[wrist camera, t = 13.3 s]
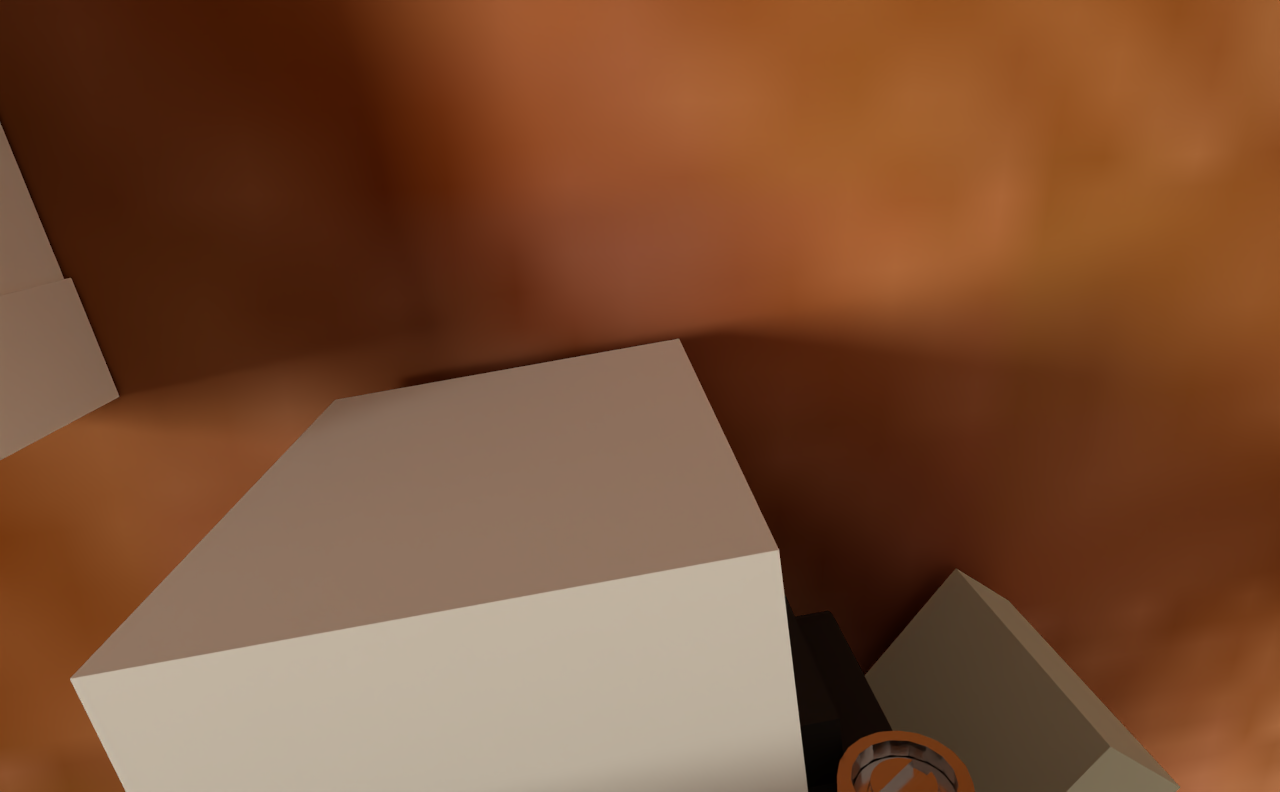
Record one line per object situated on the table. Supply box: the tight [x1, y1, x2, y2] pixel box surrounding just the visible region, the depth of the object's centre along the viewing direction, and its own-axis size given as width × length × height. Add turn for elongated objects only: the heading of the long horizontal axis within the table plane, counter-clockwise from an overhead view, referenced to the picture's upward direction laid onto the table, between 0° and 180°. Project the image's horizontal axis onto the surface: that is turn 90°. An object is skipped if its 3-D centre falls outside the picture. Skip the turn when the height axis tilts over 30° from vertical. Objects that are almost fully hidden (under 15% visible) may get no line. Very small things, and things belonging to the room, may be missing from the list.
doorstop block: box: [70, 339, 808, 792], centre depth 10 cm, size 9×5×6 cm, turn 9°
